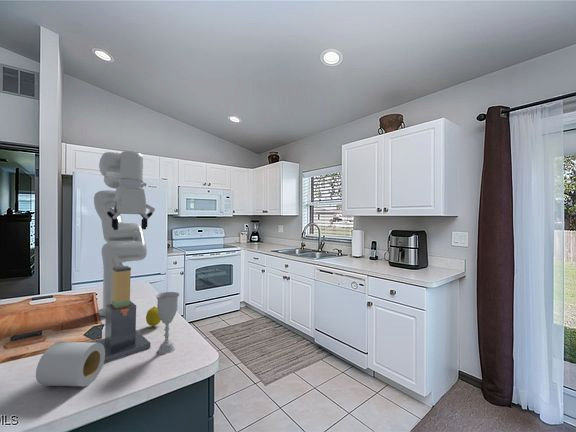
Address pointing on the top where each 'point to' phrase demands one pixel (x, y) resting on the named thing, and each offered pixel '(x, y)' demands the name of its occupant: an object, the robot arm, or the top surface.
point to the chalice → (167, 316)
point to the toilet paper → (70, 364)
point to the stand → (121, 333)
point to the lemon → (153, 317)
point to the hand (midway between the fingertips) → (130, 229)
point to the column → (121, 287)
